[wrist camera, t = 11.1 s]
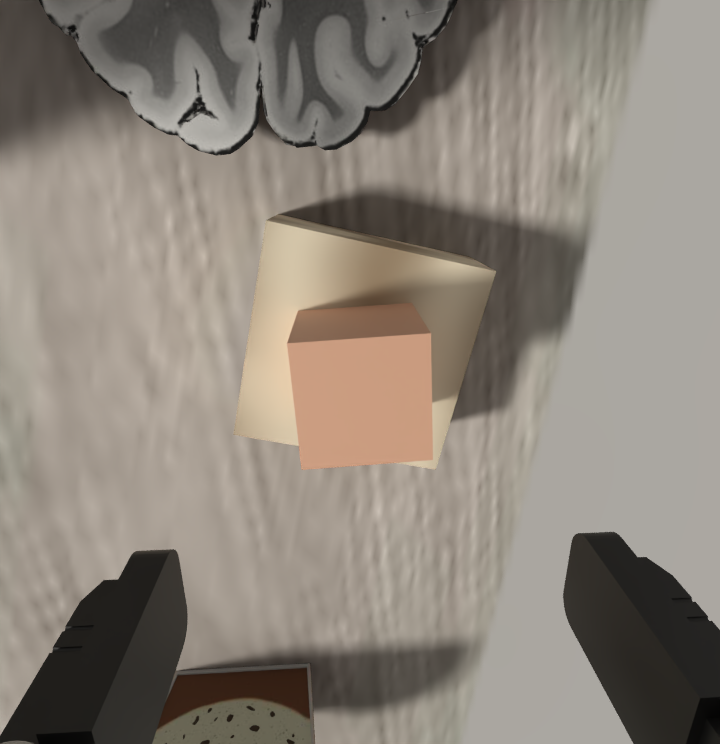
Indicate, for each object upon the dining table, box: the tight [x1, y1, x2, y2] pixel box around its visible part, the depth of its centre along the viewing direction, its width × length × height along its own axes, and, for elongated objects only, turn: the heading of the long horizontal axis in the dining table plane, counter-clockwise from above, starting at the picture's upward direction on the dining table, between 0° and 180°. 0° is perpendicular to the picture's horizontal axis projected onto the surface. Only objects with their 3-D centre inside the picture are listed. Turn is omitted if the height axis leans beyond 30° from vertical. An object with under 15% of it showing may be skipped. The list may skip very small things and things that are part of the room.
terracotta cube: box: [287, 303, 433, 470], centre depth 21 cm, size 5×5×5 cm
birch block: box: [234, 214, 496, 470], centre depth 26 cm, size 10×10×5 cm
